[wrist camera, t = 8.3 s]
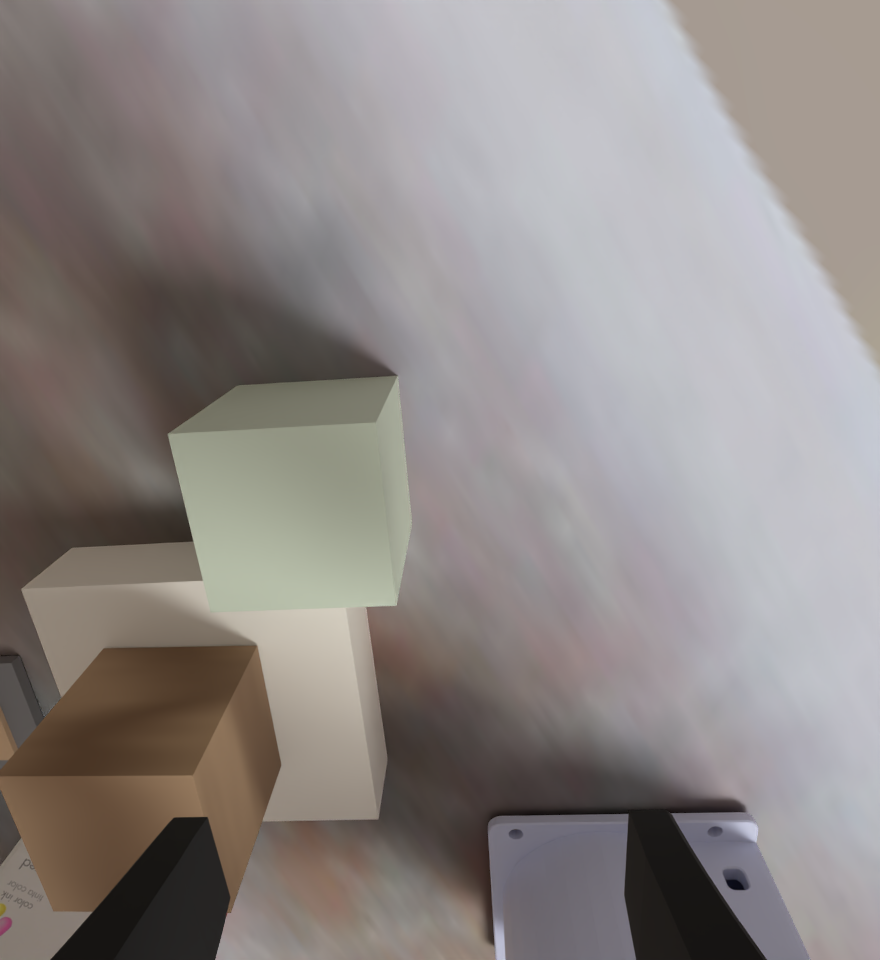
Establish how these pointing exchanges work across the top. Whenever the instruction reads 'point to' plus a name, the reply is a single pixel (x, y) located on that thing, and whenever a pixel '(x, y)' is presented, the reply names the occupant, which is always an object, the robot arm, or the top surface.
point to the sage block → (298, 494)
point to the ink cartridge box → (30, 912)
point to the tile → (15, 707)
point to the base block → (278, 634)
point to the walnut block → (144, 766)
